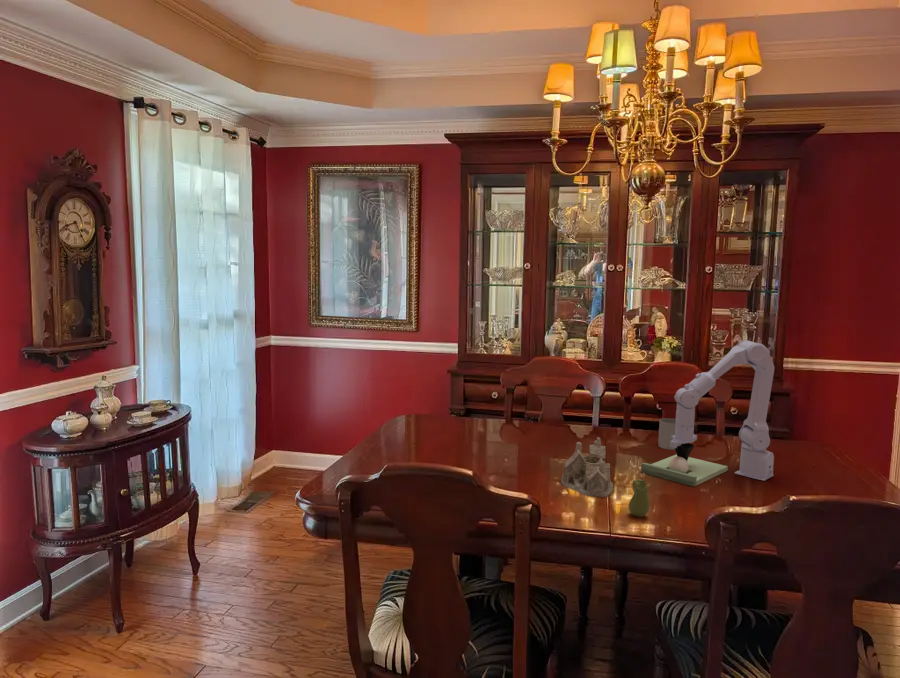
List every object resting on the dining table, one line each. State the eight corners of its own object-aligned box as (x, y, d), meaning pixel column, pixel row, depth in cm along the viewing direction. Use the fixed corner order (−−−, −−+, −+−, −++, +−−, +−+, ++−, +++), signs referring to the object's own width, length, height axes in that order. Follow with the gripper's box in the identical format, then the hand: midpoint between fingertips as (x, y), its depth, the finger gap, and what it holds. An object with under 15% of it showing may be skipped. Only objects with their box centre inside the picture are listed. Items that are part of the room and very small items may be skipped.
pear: (650, 520, 166) (652, 484, 165) (630, 519, 167) (632, 483, 165) (645, 512, 172) (647, 477, 171) (626, 511, 172) (628, 476, 171)
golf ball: (680, 467, 198) (682, 481, 201) (691, 456, 201) (693, 471, 204) (664, 460, 203) (666, 474, 206) (675, 450, 206) (677, 464, 208)
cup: (683, 450, 232) (684, 424, 231) (659, 449, 234) (661, 422, 232) (679, 444, 240) (681, 419, 239) (657, 442, 242) (658, 417, 241)
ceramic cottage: (563, 474, 202) (566, 430, 199) (615, 483, 196) (619, 438, 193) (554, 493, 188) (557, 446, 185) (609, 503, 182) (613, 455, 179)
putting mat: (727, 470, 209) (728, 461, 209) (693, 486, 193) (694, 477, 192) (676, 458, 222) (677, 450, 222) (641, 472, 206) (641, 463, 206)
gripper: (683, 419, 212) (681, 458, 214) (662, 426, 202) (659, 466, 204) (703, 423, 207) (701, 463, 209) (682, 430, 197) (680, 472, 199)
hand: (682, 465), depth 206 cm, fingers closed, pressing on golf ball
